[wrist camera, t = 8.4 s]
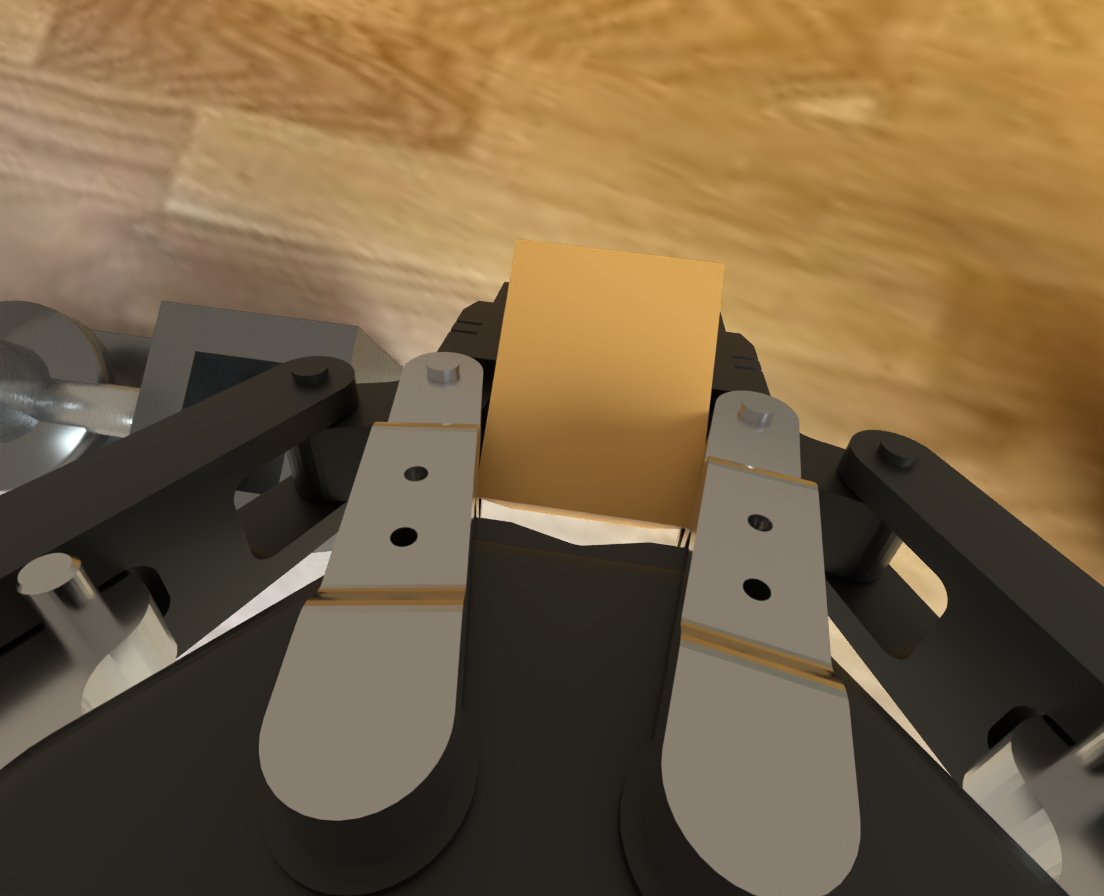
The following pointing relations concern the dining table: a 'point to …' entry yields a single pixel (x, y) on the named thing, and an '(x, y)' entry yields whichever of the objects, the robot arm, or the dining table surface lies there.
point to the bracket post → (146, 379)
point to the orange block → (602, 385)
